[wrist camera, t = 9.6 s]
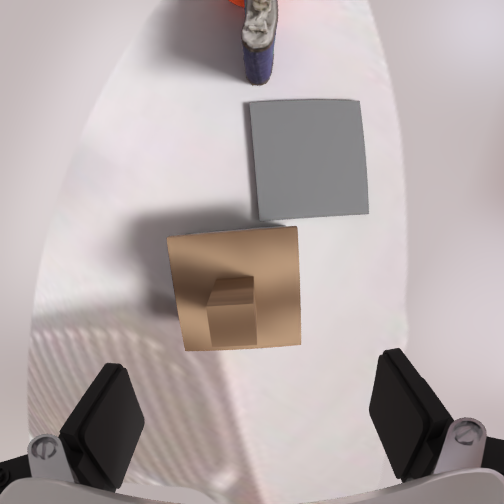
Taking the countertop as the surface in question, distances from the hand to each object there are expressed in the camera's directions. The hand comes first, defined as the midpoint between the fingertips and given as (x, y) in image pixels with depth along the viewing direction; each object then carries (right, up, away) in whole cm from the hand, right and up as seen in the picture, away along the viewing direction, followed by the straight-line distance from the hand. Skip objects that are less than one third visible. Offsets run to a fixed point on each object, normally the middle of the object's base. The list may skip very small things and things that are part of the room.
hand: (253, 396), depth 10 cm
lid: (-1, +2, +17) cm, 17 cm away
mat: (+6, +14, +18) cm, 24 cm away
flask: (+1, +26, +16) cm, 30 cm away
